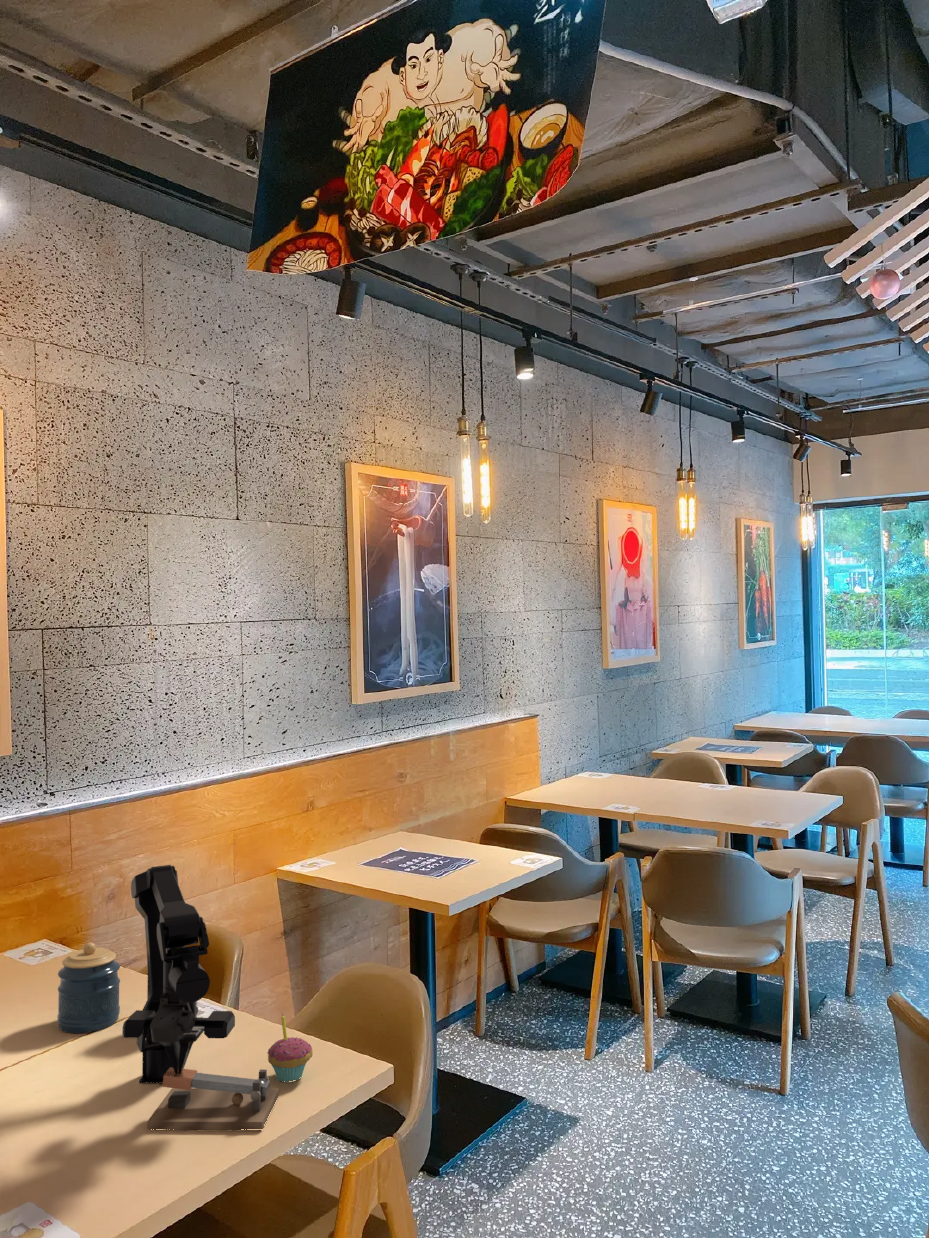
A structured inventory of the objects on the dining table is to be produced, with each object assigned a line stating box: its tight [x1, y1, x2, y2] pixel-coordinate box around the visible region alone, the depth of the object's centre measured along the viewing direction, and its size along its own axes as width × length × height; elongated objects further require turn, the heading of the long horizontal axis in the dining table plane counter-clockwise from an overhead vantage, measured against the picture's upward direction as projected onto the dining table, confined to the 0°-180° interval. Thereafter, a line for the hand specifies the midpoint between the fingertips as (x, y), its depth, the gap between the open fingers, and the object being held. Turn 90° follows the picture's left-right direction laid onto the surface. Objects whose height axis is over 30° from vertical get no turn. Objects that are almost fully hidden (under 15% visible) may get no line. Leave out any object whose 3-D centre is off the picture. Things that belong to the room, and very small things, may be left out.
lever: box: [161, 1067, 271, 1097], centre depth 161 cm, size 18×3×2 cm, turn 88°
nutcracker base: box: [146, 1069, 280, 1132], centre depth 161 cm, size 20×12×6 cm, turn 88°
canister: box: [56, 941, 121, 1034], centre depth 202 cm, size 13×13×18 cm
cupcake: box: [267, 1011, 314, 1083], centre depth 175 cm, size 9×8×12 cm
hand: (179, 1072), depth 161 cm, fingers closed
